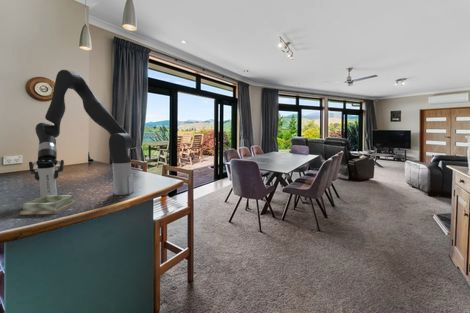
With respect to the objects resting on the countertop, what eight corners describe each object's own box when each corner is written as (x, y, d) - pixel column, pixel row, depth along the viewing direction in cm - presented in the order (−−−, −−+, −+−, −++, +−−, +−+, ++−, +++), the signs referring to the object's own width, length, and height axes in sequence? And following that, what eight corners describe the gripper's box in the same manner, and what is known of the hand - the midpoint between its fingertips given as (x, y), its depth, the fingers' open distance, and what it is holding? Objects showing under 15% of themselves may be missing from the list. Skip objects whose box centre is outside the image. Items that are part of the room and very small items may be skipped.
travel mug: (46, 198, 116) (42, 160, 113) (60, 198, 116) (56, 159, 114) (37, 202, 110) (32, 161, 107) (51, 202, 110) (47, 161, 108)
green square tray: (76, 203, 109) (75, 194, 109) (55, 213, 95) (54, 204, 95) (45, 203, 108) (45, 195, 108) (20, 214, 94) (19, 204, 94)
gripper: (27, 148, 112) (25, 176, 104) (63, 147, 120) (64, 172, 112) (30, 158, 117) (28, 185, 109) (65, 156, 125) (66, 181, 117)
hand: (46, 178), depth 110 cm, fingers closed on travel mug, 6 cm apart
